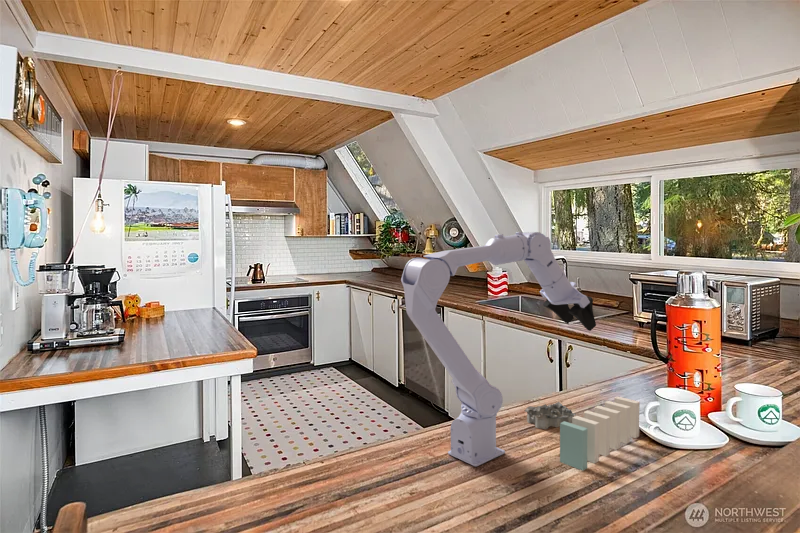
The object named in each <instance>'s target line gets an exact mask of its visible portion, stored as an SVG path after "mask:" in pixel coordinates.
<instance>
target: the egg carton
mask: <svg viewBox="0 0 800 533" xmlns="http://www.w3.org/2000/svg"><path fill="white" fill-rule="evenodd" d="M524 412H525V413H527V415H526V422H527V423H528V424H534V426H535V428H537V429H543V430H547V429H549V427H555V428H560V423H562V422H564V421H565V422H568V423H572V418H573V417H575V416H577V414H576V413H573V411H572V409H569V408H568V407H567V406H566V405H563V404H562V403H561V402H560V401H558V402H557V401H556V403H552V404H548V405H547V404H543V405H538V406H531V405H530V406H527V407H526V408H525V410H524Z"/></svg>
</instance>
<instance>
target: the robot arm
mask: <svg viewBox="0 0 800 533" xmlns="http://www.w3.org/2000/svg"><path fill="white" fill-rule="evenodd" d="M423 257H424V258H423ZM423 257H414V258H411V259H409V260H408V261H407V263H406V264H405V266H404V268H403V272H402V274H401V279H400V281H401V284H402V287H403V292H404V301H405V302H404V303H405V311H406V314H407V316H408V318H409V319H410V321H411V322H412V323H413V325H414V326H415V327H416V329H417V330H418V332H419V333H420V334H421V336H422V337H423V339H424V340H425V341H426V343H427V344H428V346H429V348H430V349H431V350H432V351H433V353H434V354H435V356H436V357H437V358H438V360H439V361H440V363H441V364H442V366H443V367H444V368H445V370H446V372H448V374H449V375H450V377H451V378H452V379H451V383H452V384H453V386H454V388H455V395H456V398H457V399H458V401H459V402H460V403H461V404H460V408H461V411H460V413H459V416H457V417H456V418H455V419H453V421H451V424H450V450H449V451H447V454H448V455H450V456H452V457H454V458H456V459H459V460H461V462H465V463H467V464H469V465H471V466H473V467H478V466H481V465H483V464H485V463H487V462H489V461H492V460H494V459H495V458H498V457H500V456H502V455H504V454H505V453H506V451H505V449H502V448H500V447H497V416H498V415H497V414H498V413H499V411H500V410H501V408H502V406H503V401H504V400H503V394H502V391H501V390H500V389H499V388H497V387H496V386H494V385H491V384H490V382H489V381H488V379H487V378H486V377H485V376H483V374H481V373H480V372H479V371H478V369H476V367H475V366H474V365H473V363H472V362H471V360H470V358H469V357H468V356H467V354H466V353H465V352H464V350H463V349H462V347H461V346H460V344H459V343H458V341H457V339H456V338H455V337H454V335H453V334H452V332H451V331H450V330H449V328H448V326H446V323H444V321H443V319H442V318H441V316H440V315H439V314H438V312H437V311H436V309H437V308H436V307H437V304H438V302H439V300H440V299H441V297H442V295H443V293H444V291H445V290H446V287H447V286H448V284H449V282H450V279H451V277H454V276H455V275H456V274H457V270H458V269H459V267H464V266H468V265H472V264H473V265H474V264H478V263H483V262H487V261H488V262H489V263H490V264H491V265H493V266H498V265H505V264H511V263H515V262H516V263H517V262H521V261H524V262H525V264H526V265H527V267H528V268H529V270H530V271H531V273H532V275H533V276H534V278H535V279H536V281H537V283H538V284H539V285H540V287H541V289H540V291H539V293H540V295H541V297H542V298H544V299H545V300H544V302H543V303H542V306H543V307H545V308H547V309H548V310H551V312H553V313H554V314H556V316H558V317H559V318H560V320H562V321H563V322H564V323H565V324H568V325H569V323H571V322H572V321H573V320H574V318H576V319H577V320H578V321H579V322H580V323H581V325H582V326H583V327H584V328H585V330H587V331H589V332H591V331H592V330H593V329H594V328H595V327H596V326H597V322H596V319H595V315H594V309H593V305H594V304H593V303H594V299H593V297H591V296H589V295H586V294H583V293H582V292H580V291H579V290H578V289H577V288H576V287H578V284H577V282H575V281H574V282H573V281H570V280H569V279H568V277H567V276H566V273H565V272H564V271H563V269H562V267H561V266H560V264H559V262H558V261H557V259H556V258H555V256H554V253H553V251H552V243H551V240H550V238H549V236H546V235H545V234H544V233H542V232H540V231H539V232H538V231H531V232H529V231H527V232H523V231H517V232H516V231H515V233H514V234H511V235H504V234H503V233H499V234H497V233H496V234H494V237H492V238H491V237H490V238H489V239H488V240H487V241H486V243H485V245H479V246H472V247H470V246H469V247H463V248H456V249H448V250H442V251H438V252H437V251H436V252H432V253H428V254H425V255H423ZM569 304H572V305H573V306H572V307H571V308H570V306H569Z"/></svg>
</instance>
